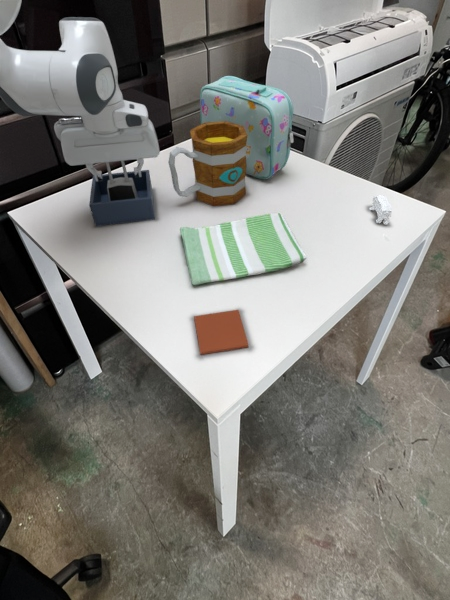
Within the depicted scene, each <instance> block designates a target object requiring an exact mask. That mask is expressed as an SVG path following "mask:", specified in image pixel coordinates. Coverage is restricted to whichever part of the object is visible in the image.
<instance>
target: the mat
mask: <svg viewBox="0 0 450 600" xmlns="http://www.w3.org/2000/svg"><path fill="white" fill-rule="evenodd" d="M193 317H194V319H193V320H194V324H195V330H196V336H197V337H196V338H197V342H198V348H199V354H200V355H201V356H202V355H207V354H213V353H220V352H227V351H233V350H240V349H245V348H249V342H248V338H247V335H246V331H245V328H244V324H243V321H242V317H241V313H240V310H239V309H234V310H228V311H221V312H213V313H208V314H207V313H206V314H200V315H194V316H193Z"/></svg>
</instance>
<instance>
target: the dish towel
mask: <svg viewBox="0 0 450 600" xmlns="http://www.w3.org/2000/svg"><path fill="white" fill-rule="evenodd" d="M179 233H180V234H181V239H182V244H183V249H184V254H185V258H186V264H187V268H188V272H189V276H190V281H191V285H193V286H198V285H201V284H206V283H207V284H208V283H212V282H220V281H226V280H231V279H239V278H245V277H247V276H255V275H259V274H261V275H262V274H264V273H265V274H266V273H271V272H275V271H281V270H284V269H287V268H290V267H292V266H295V265H298V264H301V263H303V262H304V261H306V260H307V255H306V254H305V252H304V250H303V249H302V247H301V245H300V244H299V242H298V240H297V238H296V237H295V235H294V233H293V231H292V229H291V228H290V226H289V224H288V223H287V220H286V218H284V216H283V214H282V213H281V212H271V213H266V214H261V215H255V216H250V217H249V216H248V217H245V218H242V219H238V220H234V221H227V222H222V223H218V224H216V225H210V226H198V227H188V226H182V227H180V228H179Z"/></svg>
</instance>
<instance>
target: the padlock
mask: <svg viewBox="0 0 450 600" xmlns="http://www.w3.org/2000/svg"><path fill="white" fill-rule="evenodd" d="M120 163H121V167H122V172H124V176H125V178H122V177H120V178H115V179H113V178H112V174H113V173H112V170H111V166H110V162H104V164H105V167H106V170H107V174H109V178H110V180H108V184H107V190H108V196H109V201H116V200H125V199H134V198H138V195H137V191H136V188H135V185H134V181H133V178H128V176H127V172H128V171H127V167H126V163H125V161H120Z"/></svg>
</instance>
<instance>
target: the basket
mask: <svg viewBox="0 0 450 600" xmlns="http://www.w3.org/2000/svg"><path fill="white" fill-rule="evenodd" d="M111 174H112V178H113V179H115V178H120V177H122V178H125V176H124V172H123V171H122V172H113V173H111ZM141 175H142V177H135V174H134V170H133V171H127V176H128V178H133V181H134V185H135V188H136V191H137V195H138V198H134V199H125V200H116V201H109V196H108V190H107V184H108V180H110V178H109V174H108V173H102V176H103V181H97V182H96V180H95V176H94V175H93V174H92V180H91V189H90V196H89V202H88V203H89V204H88V206H89V210H90V213H91V216H92V219H93V222H94V224H95V227H103V226H110V225H111V226H112V225H119V224H126V223H127V224H128V223H135V222H136V223H137V222H145V221H152V220H156V214H155V212H156V211H155V203H154V192H153V186H152V179H151V174H150V169H143V170H142V169H141Z"/></svg>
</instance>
